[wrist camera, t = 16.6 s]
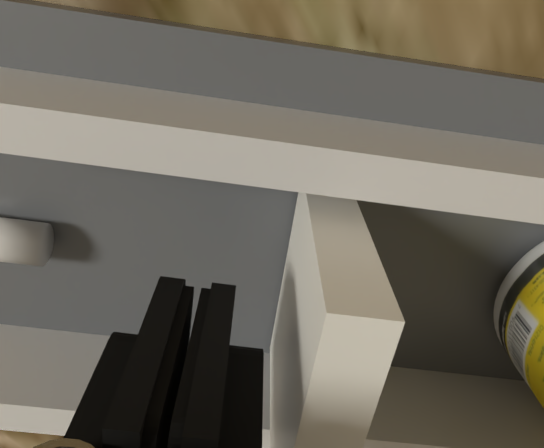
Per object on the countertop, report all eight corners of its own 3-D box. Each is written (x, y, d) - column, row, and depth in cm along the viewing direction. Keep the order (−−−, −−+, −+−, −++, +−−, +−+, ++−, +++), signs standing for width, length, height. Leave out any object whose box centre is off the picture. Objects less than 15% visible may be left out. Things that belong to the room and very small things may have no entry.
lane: (-37, -10, 12) (-173, -8, 8) (787, 116, 13) (981, 165, 10) (12, 360, 17) (-56, 460, 13) (594, 420, 18) (671, 525, 15)
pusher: (302, 171, 12) (326, 313, 7) (347, 177, 12) (405, 321, 7) (270, 347, 15) (270, 547, 10) (307, 351, 15) (327, 552, 10)
